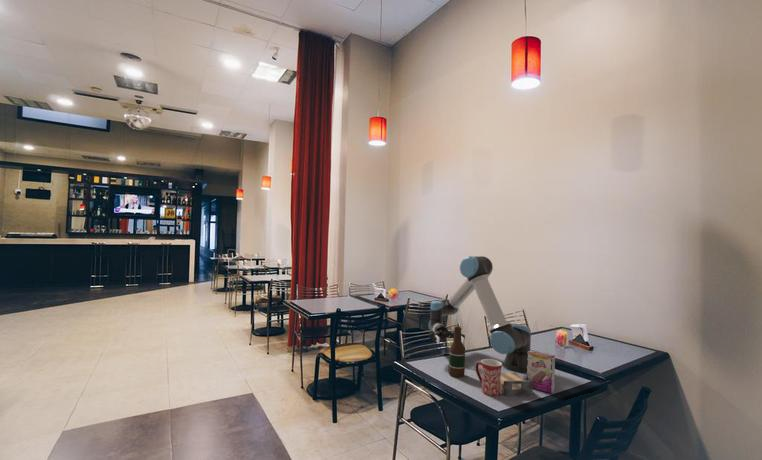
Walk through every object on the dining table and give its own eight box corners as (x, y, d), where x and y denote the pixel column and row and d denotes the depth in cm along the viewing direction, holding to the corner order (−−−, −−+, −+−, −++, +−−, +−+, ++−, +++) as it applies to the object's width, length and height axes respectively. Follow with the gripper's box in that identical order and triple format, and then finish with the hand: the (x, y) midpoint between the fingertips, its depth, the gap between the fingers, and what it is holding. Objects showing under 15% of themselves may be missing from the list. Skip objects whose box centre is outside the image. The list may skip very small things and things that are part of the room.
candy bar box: (526, 387, 165) (526, 351, 165) (529, 384, 168) (530, 349, 169) (551, 394, 157) (552, 357, 158) (554, 391, 161) (555, 354, 162)
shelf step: (514, 381, 171) (515, 368, 172) (532, 395, 156) (532, 381, 156) (489, 381, 170) (489, 368, 170) (504, 395, 154) (504, 381, 154)
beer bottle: (464, 378, 172) (466, 329, 173) (448, 376, 174) (449, 328, 175) (464, 373, 180) (465, 325, 181) (448, 371, 182) (450, 324, 183)
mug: (505, 394, 156) (506, 363, 156) (492, 398, 150) (493, 366, 151) (482, 384, 166) (483, 355, 167) (469, 388, 161) (470, 358, 161)
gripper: (460, 337, 209) (473, 348, 188) (419, 337, 207) (428, 348, 185) (461, 324, 210) (474, 333, 188) (419, 324, 207) (428, 333, 186)
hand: (451, 340), depth 187 cm, fingers open, 13 cm apart
